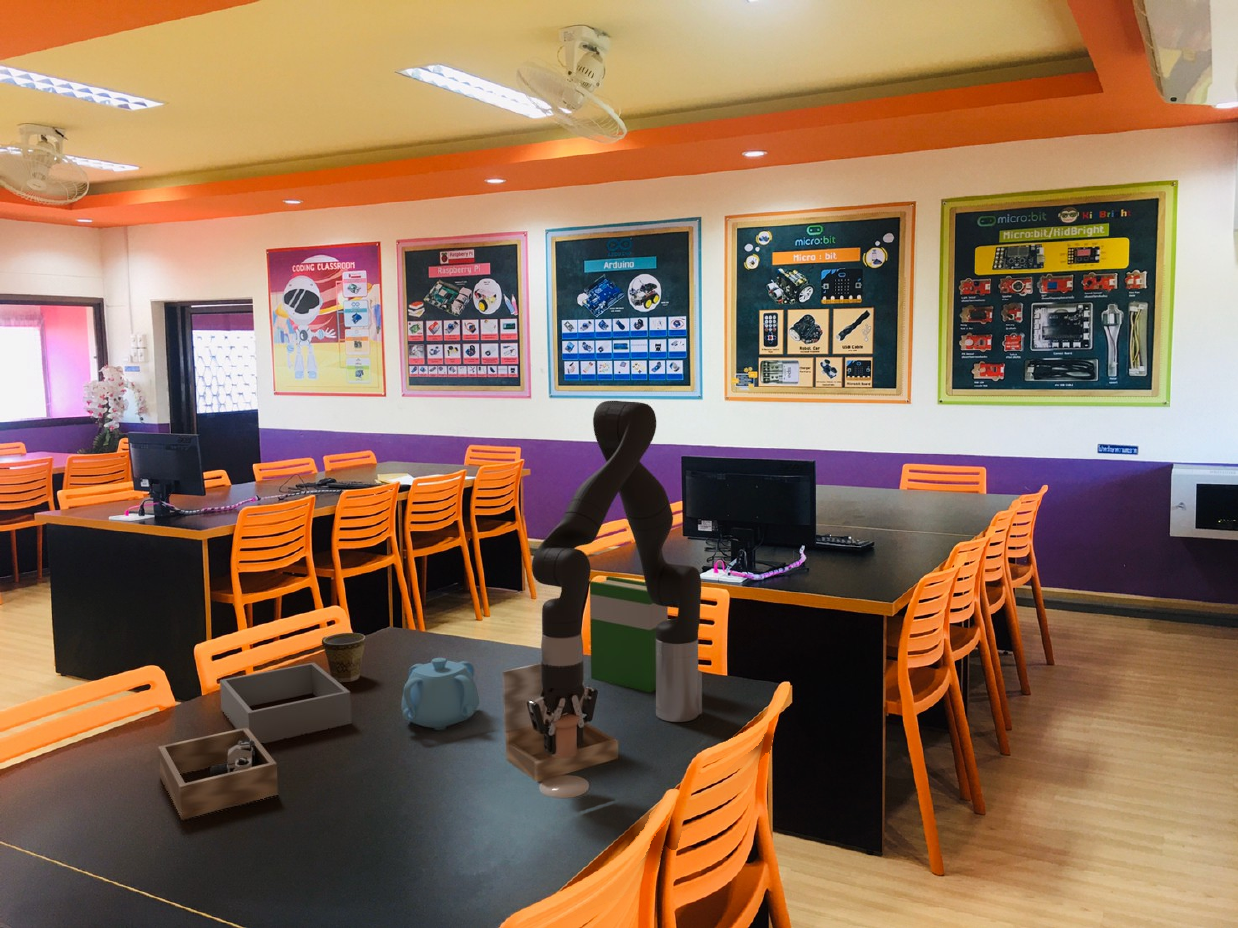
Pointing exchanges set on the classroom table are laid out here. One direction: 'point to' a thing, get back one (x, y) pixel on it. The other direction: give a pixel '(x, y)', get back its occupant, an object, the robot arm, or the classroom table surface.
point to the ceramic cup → (344, 655)
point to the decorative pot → (440, 693)
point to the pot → (566, 735)
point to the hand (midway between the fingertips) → (563, 749)
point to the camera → (237, 758)
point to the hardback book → (624, 633)
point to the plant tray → (289, 717)
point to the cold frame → (529, 744)
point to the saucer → (564, 786)
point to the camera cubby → (217, 788)
